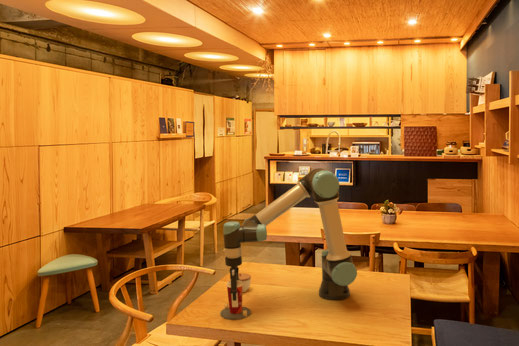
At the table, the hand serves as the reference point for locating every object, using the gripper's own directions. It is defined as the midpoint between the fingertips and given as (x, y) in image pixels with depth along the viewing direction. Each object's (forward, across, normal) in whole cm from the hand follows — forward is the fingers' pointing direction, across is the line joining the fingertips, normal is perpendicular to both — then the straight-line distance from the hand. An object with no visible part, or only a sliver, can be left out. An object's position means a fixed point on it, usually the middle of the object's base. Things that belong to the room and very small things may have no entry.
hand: (236, 301), depth 233 cm
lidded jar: (+6, -31, 0) cm, 32 cm away
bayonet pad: (+6, 0, 0) cm, 6 cm away
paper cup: (+5, 0, 0) cm, 5 cm away
